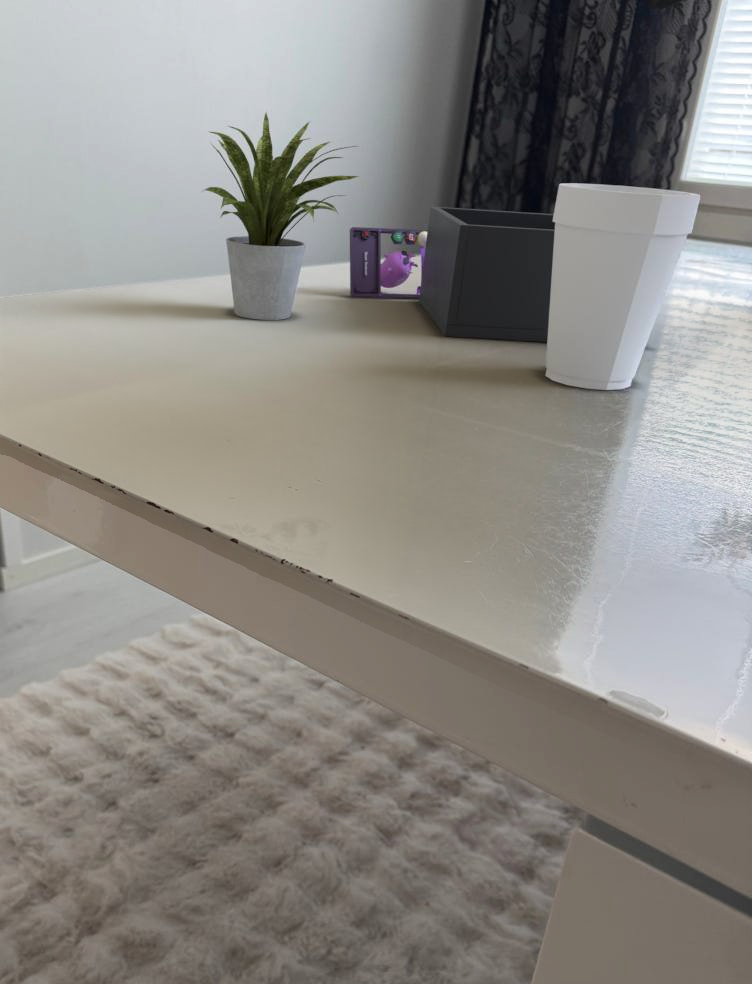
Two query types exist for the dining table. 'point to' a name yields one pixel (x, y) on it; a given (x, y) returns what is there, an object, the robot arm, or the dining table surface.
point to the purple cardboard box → (367, 261)
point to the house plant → (268, 223)
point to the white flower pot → (610, 277)
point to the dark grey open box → (488, 273)
